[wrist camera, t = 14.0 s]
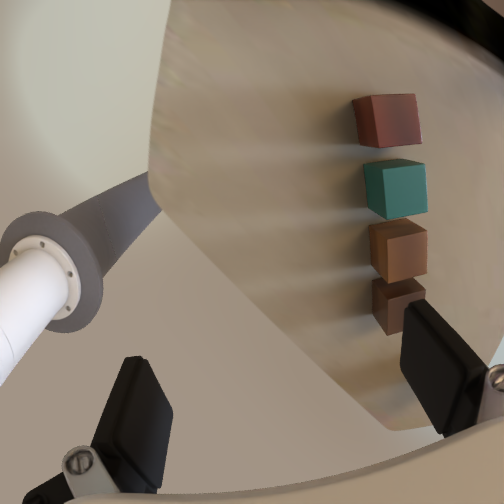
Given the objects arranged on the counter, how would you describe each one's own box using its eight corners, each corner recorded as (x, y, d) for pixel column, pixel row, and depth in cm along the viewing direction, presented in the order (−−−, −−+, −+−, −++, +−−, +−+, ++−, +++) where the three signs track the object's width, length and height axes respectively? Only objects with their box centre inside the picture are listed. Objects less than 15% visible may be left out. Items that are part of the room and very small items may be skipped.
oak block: (371, 265, 36) (387, 283, 32) (368, 225, 35) (386, 239, 30) (407, 256, 36) (426, 273, 32) (406, 217, 34) (427, 230, 30)
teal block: (367, 208, 34) (386, 220, 29) (362, 163, 32) (382, 169, 27) (405, 201, 34) (428, 212, 29) (402, 158, 32) (425, 163, 27)
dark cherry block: (359, 145, 31) (378, 148, 27) (351, 99, 30) (370, 95, 25) (399, 141, 31) (422, 143, 27) (393, 97, 29) (415, 93, 25)
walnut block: (372, 314, 39) (386, 336, 34) (371, 280, 37) (387, 300, 32) (405, 305, 39) (422, 325, 34) (407, 271, 37) (426, 289, 32)
